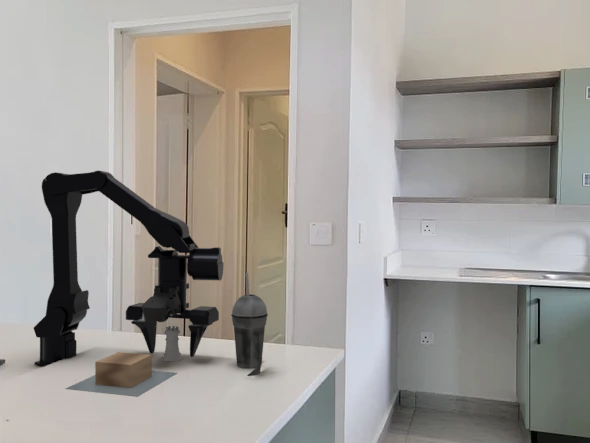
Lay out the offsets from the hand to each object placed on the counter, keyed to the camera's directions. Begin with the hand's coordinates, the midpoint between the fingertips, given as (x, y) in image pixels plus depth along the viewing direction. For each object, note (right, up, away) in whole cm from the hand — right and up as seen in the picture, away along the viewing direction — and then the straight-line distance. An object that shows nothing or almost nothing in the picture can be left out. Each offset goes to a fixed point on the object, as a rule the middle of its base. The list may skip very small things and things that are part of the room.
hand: (171, 354), depth 113 cm
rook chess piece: (0, -3, 0) cm, 2 cm away
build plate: (-5, -2, -15) cm, 16 cm away
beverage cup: (+16, -3, -4) cm, 17 cm away
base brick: (-5, -1, -15) cm, 16 cm away
